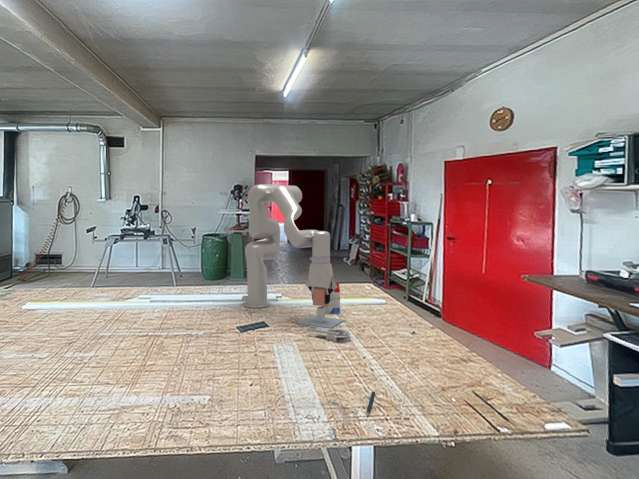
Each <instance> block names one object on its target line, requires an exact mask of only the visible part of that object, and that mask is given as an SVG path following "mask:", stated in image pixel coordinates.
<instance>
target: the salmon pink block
mask: <svg viewBox="0 0 639 479" xmlns="http://www.w3.org/2000/svg"><path fill="white" fill-rule="evenodd" d="M325 295H326V291H325V288H318V287H316V288H314V289H313V300H312V306H315V307H316V306H317V307H321V306H326V305H328V304H329V303H328V304H325Z"/></svg>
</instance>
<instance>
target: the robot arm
mask: <svg viewBox="0 0 639 479" xmlns="http://www.w3.org/2000/svg"><path fill="white" fill-rule="evenodd" d="M302 199H303V193H302V191H301V189H300V188H299V187H298V186H297V185H287V184H285V185H284V184H274V183H273V184H271V183H270V184H268V183H261V184H256V185H253V186H252V187H251V188H250V189H249V191H248V195H247V200H248V208H249V213H248V214H249V215H248V217H249V218H248V234H249V236H250V237H251V238H252V239H255V240H256V239H265V240H256V241H251V242H249V243H248V244H246V246H245V249H244V255H245V260H246V268H247V269H246V270H247V271H246V273H247V274H246V275H247V278H246V279H247V295H242V297H241V300H242V301H245V302H244V306H245V307H246V308H249V309H250V308H251V309H262V308H268V307H270V306H271V302H270V301H269V300H268V269H267V266H266V264H265V263H264V261H267V260H268V261H269V260H273V259H276V258H277V257H278V256H279V254H280V246H281V226H280V223H279V222H278V221H277V219H274V218H268V208H267V207H266V205H265V203H275V205H276V206H277V207H278V210H279V211H280V212H281V214H282V216H283V217H284V221H283V231H284V234H285V236H286V238H287V240H288V241H289V243H290V244H291V245H292V246H293V247H294V248H296V249H303V248H311V250H312V251H311V255H312V256H310V257H309V261H311V263H310V264H309V269H308V278H307V281H306V282H305V286H306V288H308V291H310V293H311V301H313V289H314V288H316V287H318V288H325V291H326V295H325V304H328V303H329V302H330V294H331V293H332V292H333V291H334V290H335V289H336V288H337V285H336V283H335V281H334V273H333V272H334V271H333V266H332V263H331V234H330V232H329V231H325V230H317V229H302V230H300V229H299V228H298V227H297V226H296V224H295V220H297V219H298V218H299V217H300V216H301V215H302V212H303V209H302V207H301V205H300V204H299V203H300V202H302ZM331 286H333V287H332V288H331V289H330V287H331Z"/></svg>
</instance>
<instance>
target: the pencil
mask: <svg viewBox="0 0 639 479" xmlns="http://www.w3.org/2000/svg"><path fill="white" fill-rule="evenodd" d="M375 396H376V392H375V391H371V395H370V398H369V402H368V405H367V409H366V411H365V412H366V413H365V414H366V417H369V416H370V415H371V412H372V408H373V403H374V399H375Z"/></svg>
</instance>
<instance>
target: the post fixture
mask: <svg viewBox="0 0 639 479" xmlns="http://www.w3.org/2000/svg"><path fill="white" fill-rule="evenodd" d="M342 323H345V319H343V318H342V319H341V318H335V317H327V316H326V313H325V307H321V306H317V307H316V315H310V316H308V317H305V318H304V319H301V320H299V321H298V322H296V325H298V326H299V325H300V326H306V327H307V326H308V327H309V326H315V327H322V328H329V329H334V328H335V327H337V326H338V325H340V324H342Z"/></svg>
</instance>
